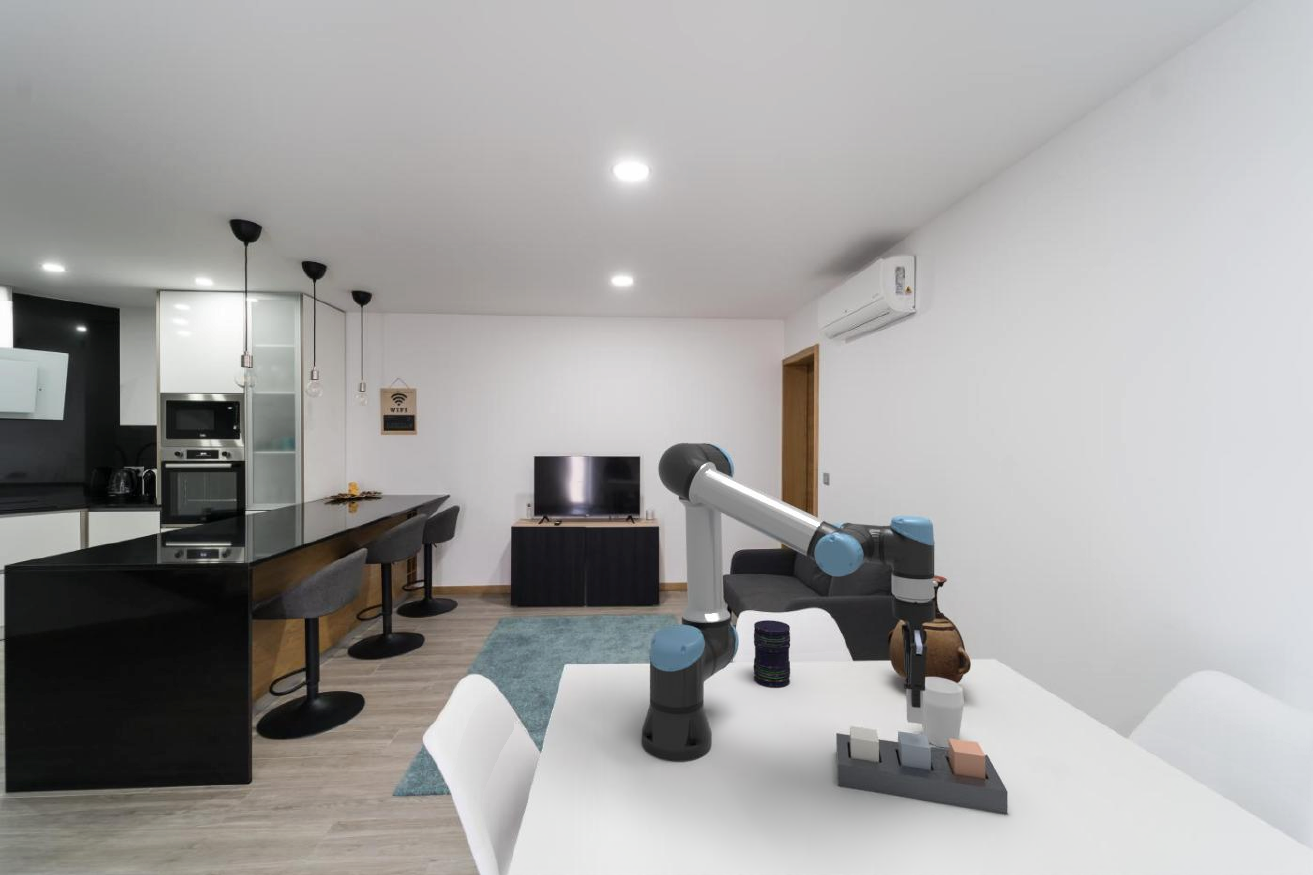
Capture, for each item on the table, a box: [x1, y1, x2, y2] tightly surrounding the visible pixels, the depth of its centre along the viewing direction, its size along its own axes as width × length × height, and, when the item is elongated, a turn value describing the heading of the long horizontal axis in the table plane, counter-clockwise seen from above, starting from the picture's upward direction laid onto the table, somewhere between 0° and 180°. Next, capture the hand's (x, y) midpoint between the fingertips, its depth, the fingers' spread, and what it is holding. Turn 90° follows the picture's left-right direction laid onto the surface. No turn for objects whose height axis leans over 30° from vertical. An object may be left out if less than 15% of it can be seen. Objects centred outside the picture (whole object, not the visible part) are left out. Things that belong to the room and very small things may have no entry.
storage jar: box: [753, 619, 791, 689], centre depth 152 cm, size 10×10×15 cm
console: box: [835, 733, 1009, 815], centre depth 106 cm, size 28×12×4 cm, turn 73°
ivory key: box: [849, 725, 879, 762], centre depth 108 cm, size 5×5×5 cm
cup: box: [921, 677, 965, 749], centre depth 121 cm, size 9×9×12 cm
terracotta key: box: [948, 738, 986, 779], centre depth 103 cm, size 5×5×5 cm
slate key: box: [897, 730, 931, 770], centre depth 106 cm, size 5×5×5 cm
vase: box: [886, 574, 972, 684], centre depth 146 cm, size 21×18×30 cm
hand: (915, 721), depth 106 cm, fingers closed
